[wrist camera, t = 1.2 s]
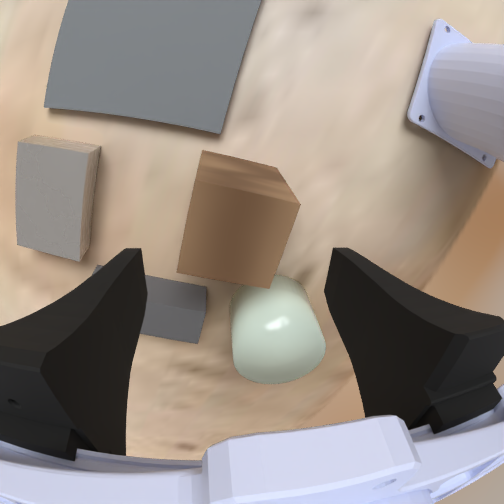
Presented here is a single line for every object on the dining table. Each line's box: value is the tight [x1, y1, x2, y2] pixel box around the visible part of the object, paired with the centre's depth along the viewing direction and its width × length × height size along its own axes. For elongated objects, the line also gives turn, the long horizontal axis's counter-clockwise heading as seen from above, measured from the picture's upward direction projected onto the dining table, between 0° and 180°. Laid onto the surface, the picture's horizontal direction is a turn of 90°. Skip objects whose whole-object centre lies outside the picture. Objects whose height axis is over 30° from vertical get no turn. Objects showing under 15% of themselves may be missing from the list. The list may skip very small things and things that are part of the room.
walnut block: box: [177, 150, 301, 289], centre depth 16 cm, size 4×4×6 cm
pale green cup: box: [230, 275, 326, 384], centre depth 22 cm, size 6×6×5 cm
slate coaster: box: [44, 0, 261, 134], centre depth 13 cm, size 11×11×1 cm
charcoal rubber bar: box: [92, 265, 206, 344], centre depth 21 cm, size 8×3×3 cm, turn 74°
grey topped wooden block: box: [16, 135, 101, 262], centre depth 17 cm, size 7×5×2 cm
